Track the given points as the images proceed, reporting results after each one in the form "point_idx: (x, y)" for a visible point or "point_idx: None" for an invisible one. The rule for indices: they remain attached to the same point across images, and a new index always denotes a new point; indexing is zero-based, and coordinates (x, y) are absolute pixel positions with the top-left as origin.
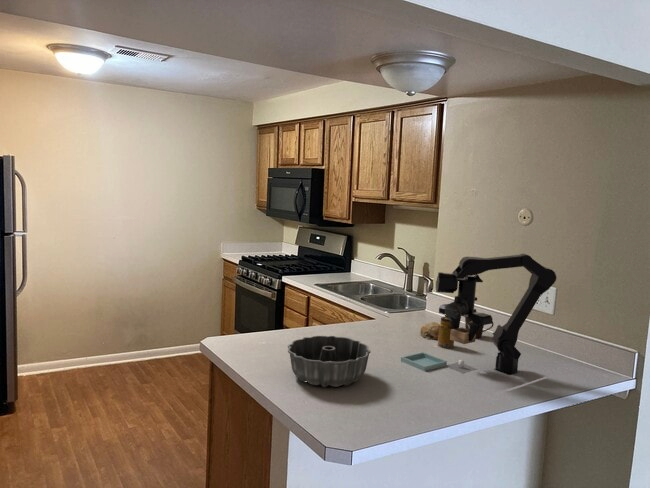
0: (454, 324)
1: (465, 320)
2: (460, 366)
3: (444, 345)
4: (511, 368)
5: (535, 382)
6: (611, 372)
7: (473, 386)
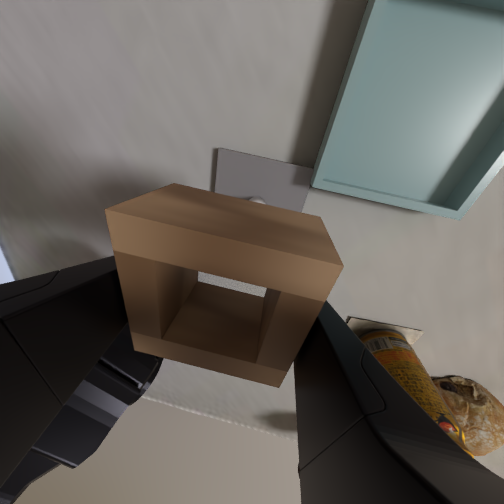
0: (334, 380)
1: None
2: (253, 198)
3: (384, 341)
4: None
5: (82, 260)
6: None
7: (115, 45)
